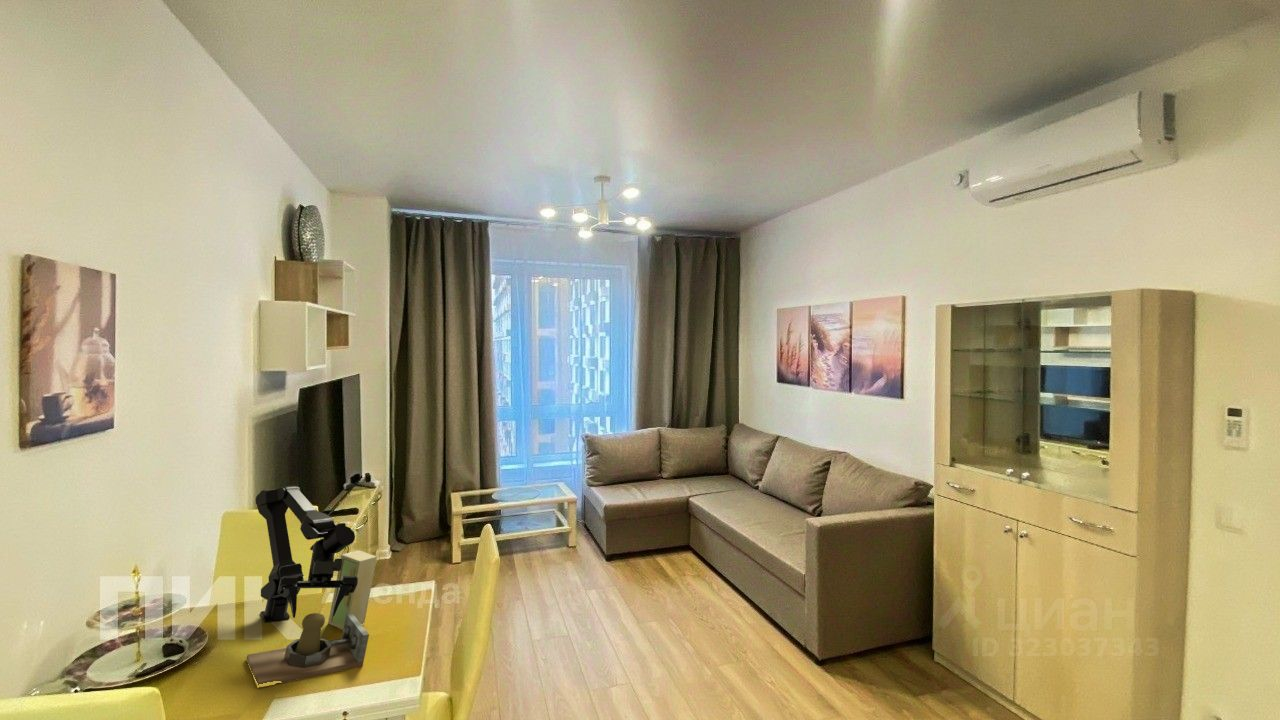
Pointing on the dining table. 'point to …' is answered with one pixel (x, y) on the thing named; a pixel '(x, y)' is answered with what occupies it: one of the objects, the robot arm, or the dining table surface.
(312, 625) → the cork
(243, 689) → the dining table surface
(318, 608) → the dining table surface
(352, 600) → the toy refrigerator
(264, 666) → the wooden peg base
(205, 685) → the dining table surface
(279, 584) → the robot arm
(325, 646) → the clip ring
